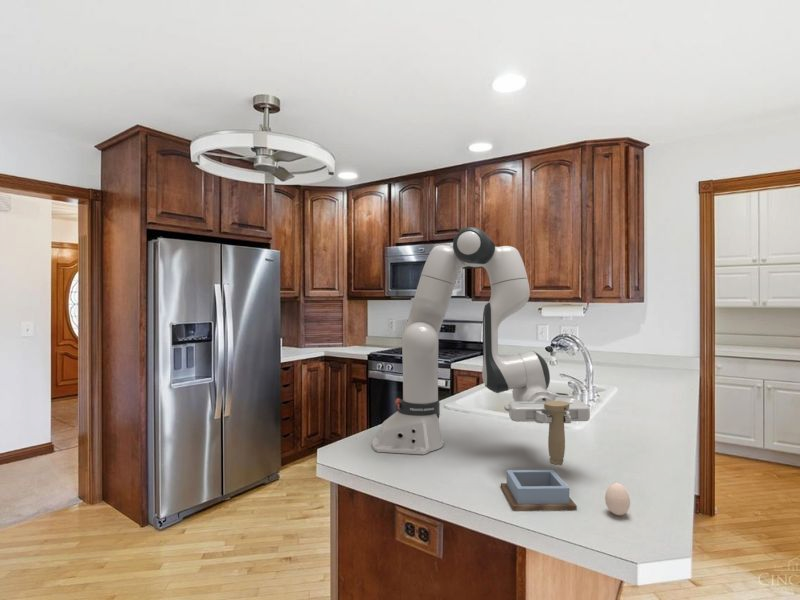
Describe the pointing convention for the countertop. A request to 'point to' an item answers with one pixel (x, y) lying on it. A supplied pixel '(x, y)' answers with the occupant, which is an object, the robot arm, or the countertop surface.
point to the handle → (556, 430)
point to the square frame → (537, 487)
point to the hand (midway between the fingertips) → (558, 420)
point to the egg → (617, 499)
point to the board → (534, 506)
